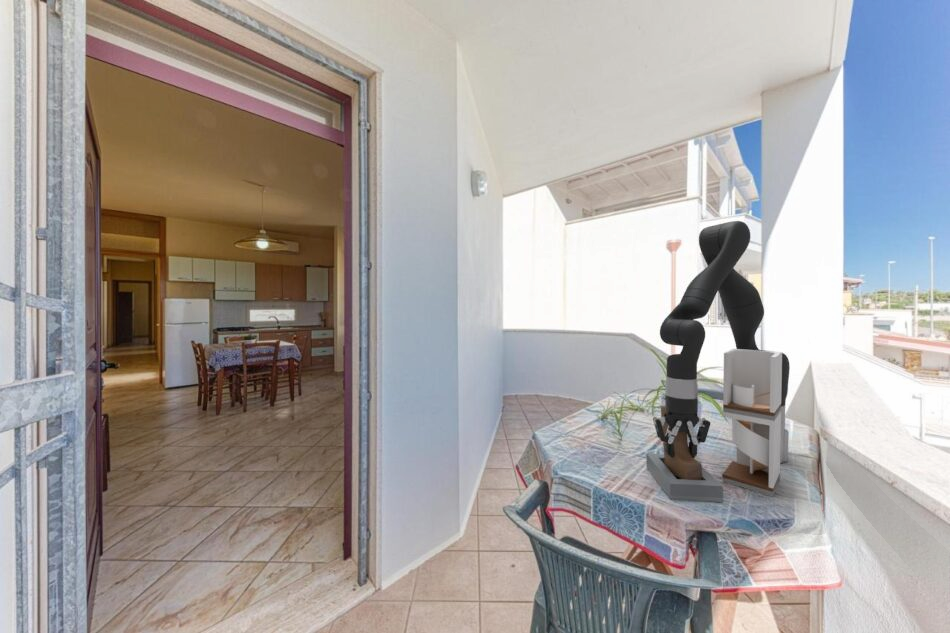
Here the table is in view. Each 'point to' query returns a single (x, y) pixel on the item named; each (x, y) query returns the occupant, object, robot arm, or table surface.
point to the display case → (754, 417)
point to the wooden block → (681, 457)
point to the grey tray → (684, 483)
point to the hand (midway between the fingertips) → (680, 456)
